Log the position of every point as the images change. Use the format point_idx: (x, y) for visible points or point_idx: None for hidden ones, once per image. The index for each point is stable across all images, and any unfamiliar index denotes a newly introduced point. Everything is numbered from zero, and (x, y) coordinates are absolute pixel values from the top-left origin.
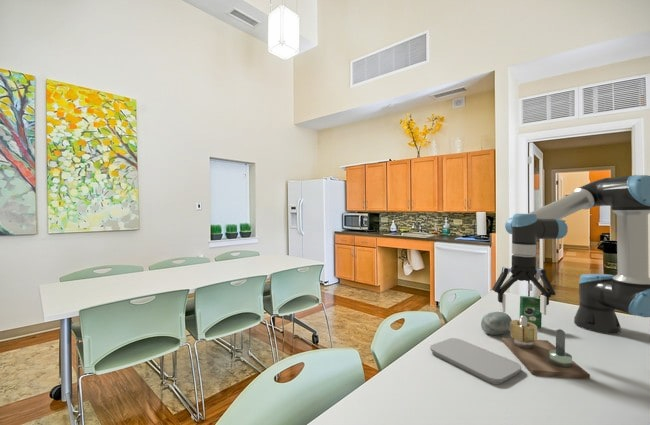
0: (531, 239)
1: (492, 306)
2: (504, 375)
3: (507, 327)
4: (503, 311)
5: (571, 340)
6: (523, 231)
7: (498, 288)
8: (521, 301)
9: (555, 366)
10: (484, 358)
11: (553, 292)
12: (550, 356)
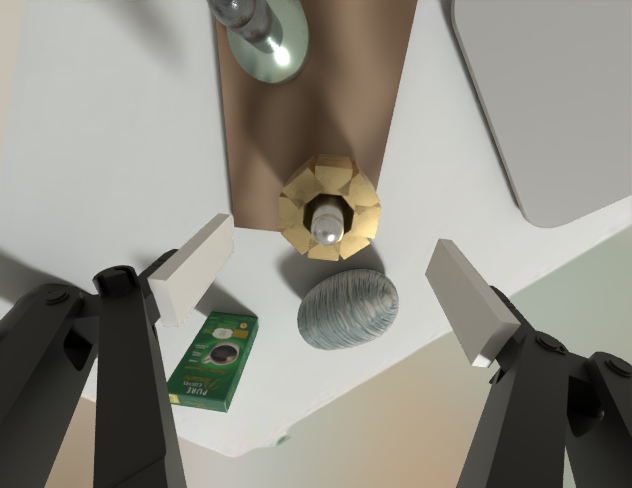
0: None
1: (275, 406)
2: None
3: (326, 284)
4: (452, 241)
5: (162, 247)
6: None
7: (626, 393)
8: (232, 389)
9: (308, 5)
10: (569, 49)
11: (45, 306)
12: (308, 35)
